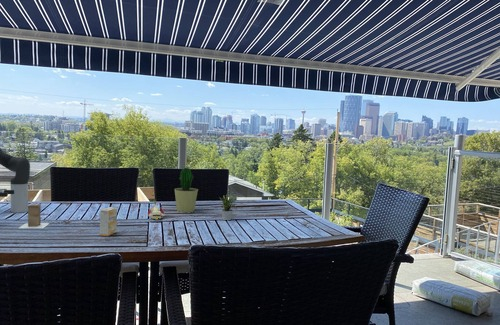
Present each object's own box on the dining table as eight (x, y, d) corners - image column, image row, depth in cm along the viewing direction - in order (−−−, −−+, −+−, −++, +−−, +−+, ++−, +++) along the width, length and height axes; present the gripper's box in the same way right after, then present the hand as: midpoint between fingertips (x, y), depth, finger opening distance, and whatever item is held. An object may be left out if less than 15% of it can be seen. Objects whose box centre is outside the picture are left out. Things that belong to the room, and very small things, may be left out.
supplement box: (108, 236, 191) (108, 210, 190) (99, 235, 192) (99, 209, 191) (117, 232, 200) (117, 207, 199) (108, 231, 200) (108, 206, 199)
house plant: (235, 224, 228) (236, 196, 227) (212, 222, 231) (213, 195, 230) (240, 219, 242) (241, 193, 241) (219, 217, 245) (220, 191, 244)
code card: (25, 223, 209) (25, 223, 209) (49, 223, 212) (49, 222, 212) (18, 228, 199) (18, 228, 199) (43, 228, 201) (43, 227, 201)
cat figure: (147, 214, 251) (148, 219, 227) (147, 200, 251) (148, 204, 227) (162, 213, 254) (165, 219, 230) (163, 200, 254) (165, 204, 230)
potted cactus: (198, 213, 253) (200, 168, 250) (174, 213, 249) (175, 167, 246) (196, 208, 267) (197, 165, 265) (173, 209, 264) (174, 165, 261)
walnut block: (31, 224, 207) (31, 204, 206) (40, 224, 208) (40, 204, 207) (28, 226, 203) (28, 205, 202) (37, 226, 204) (37, 205, 203)
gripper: (-32, 187, 191) (5, 188, 194) (-18, 183, 205) (16, 184, 208) (-32, 202, 191) (5, 202, 195) (-18, 197, 205) (16, 198, 209)
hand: (10, 193), depth 202 cm, fingers open, 8 cm apart
